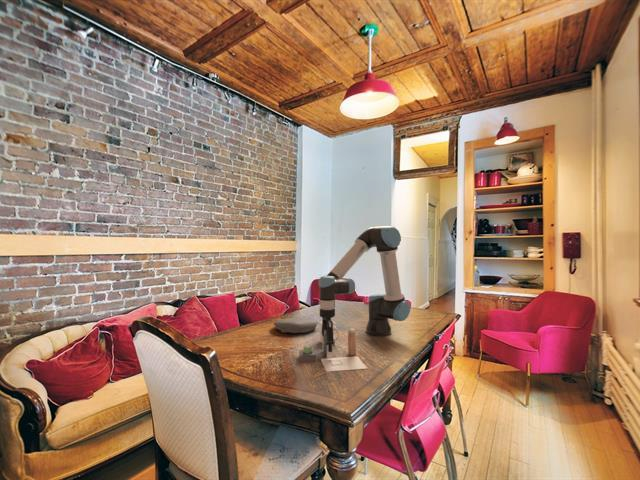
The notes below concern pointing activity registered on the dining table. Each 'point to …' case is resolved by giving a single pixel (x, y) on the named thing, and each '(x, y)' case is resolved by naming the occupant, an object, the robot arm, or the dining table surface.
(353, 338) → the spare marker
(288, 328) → the flat disc
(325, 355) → the marker
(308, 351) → the button
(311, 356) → the button base
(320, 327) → the mug
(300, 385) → the dining table surface
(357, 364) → the paper
